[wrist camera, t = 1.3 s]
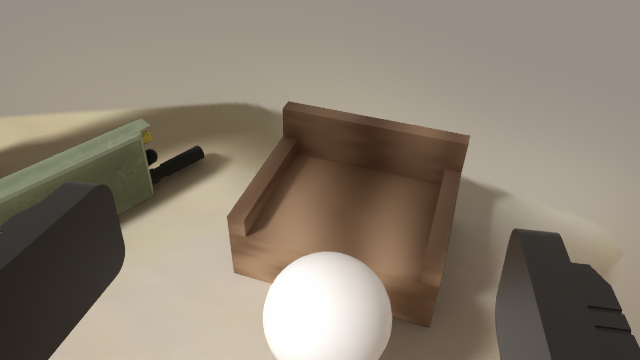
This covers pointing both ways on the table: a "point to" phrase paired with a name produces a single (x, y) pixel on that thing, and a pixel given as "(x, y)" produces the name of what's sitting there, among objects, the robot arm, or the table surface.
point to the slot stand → (354, 202)
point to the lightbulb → (327, 310)
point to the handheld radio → (95, 170)
